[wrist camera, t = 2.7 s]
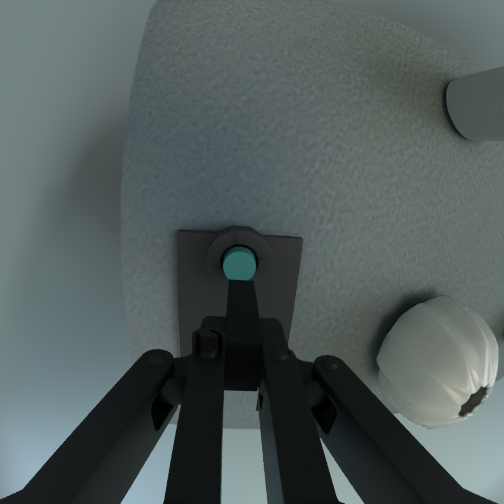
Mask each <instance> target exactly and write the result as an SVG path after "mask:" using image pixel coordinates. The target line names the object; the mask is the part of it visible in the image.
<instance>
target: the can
mask: <svg viewBox="0 0 504 504" xmlns="http://www.w3.org/2000/svg"><path fill="white" fill-rule="evenodd" d="M446 103H447V109H448V112H449V115H450V118H451V120H452V122H453V123H454V125H455V127H456V128H457V130H458V131H459V132H460V133H461V134H462V135H463V136H464V137H465V138H467V139H468V140H473V141H504V66H503V67H499V68H495V69H491V70H487V71H483V72H479V73H475V74H472V75H468V76H465V77H461V78H458V79H454V80H453V81H452V82H450V83H449V86H448V88H447V94H446Z"/></svg>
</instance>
